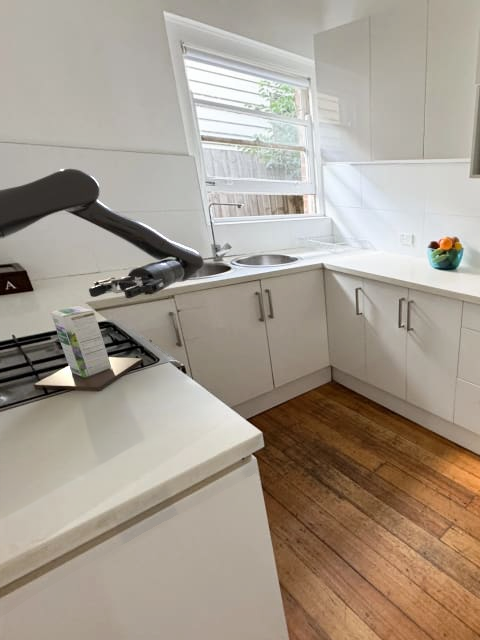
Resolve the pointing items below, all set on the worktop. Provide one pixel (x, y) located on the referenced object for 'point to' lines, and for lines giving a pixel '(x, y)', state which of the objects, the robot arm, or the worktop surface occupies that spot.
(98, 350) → the syrup box
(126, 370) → the walnut board
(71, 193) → the robot arm
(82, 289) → the worktop surface
